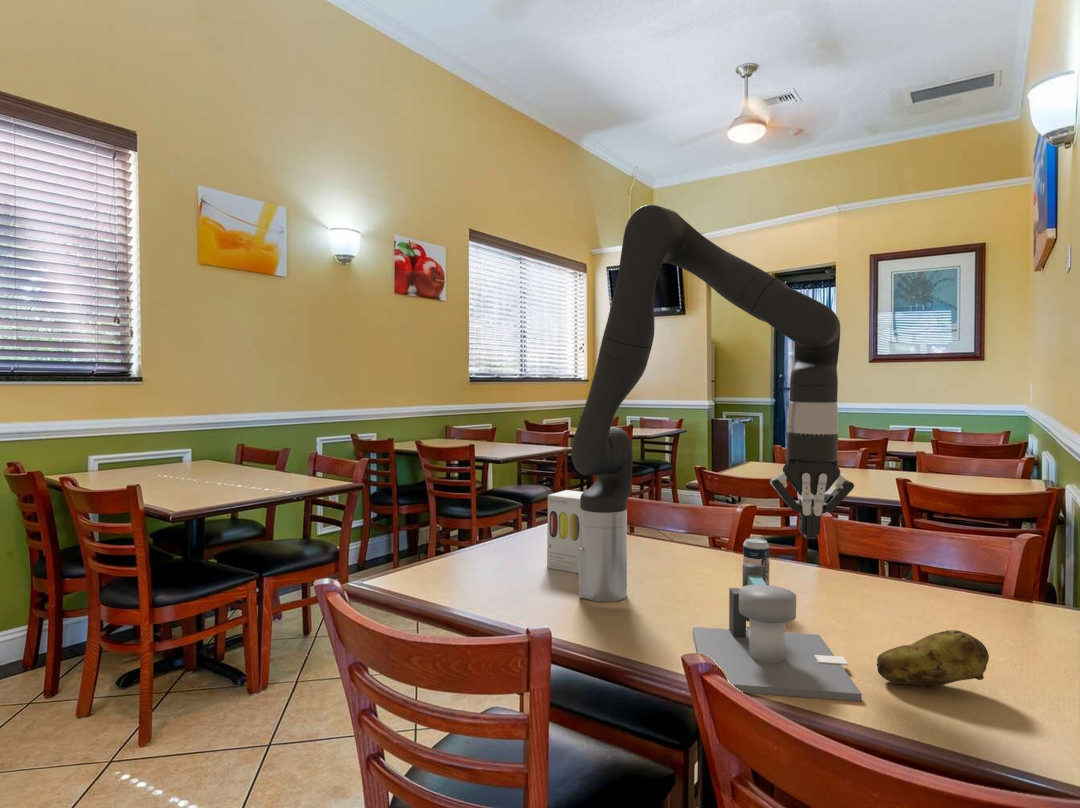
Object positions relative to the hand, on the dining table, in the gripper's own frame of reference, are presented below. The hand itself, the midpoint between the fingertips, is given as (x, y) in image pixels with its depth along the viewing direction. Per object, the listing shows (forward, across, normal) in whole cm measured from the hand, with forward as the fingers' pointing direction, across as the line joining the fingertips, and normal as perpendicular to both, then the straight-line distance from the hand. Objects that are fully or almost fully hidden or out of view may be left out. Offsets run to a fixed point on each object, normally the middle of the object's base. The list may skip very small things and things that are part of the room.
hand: (809, 537), depth 101 cm
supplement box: (+18, -42, +37) cm, 58 cm away
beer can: (+17, -5, +17) cm, 25 cm away
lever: (+15, -8, -5) cm, 17 cm away
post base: (+17, -8, -10) cm, 21 cm away
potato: (+17, +13, -14) cm, 25 cm away
